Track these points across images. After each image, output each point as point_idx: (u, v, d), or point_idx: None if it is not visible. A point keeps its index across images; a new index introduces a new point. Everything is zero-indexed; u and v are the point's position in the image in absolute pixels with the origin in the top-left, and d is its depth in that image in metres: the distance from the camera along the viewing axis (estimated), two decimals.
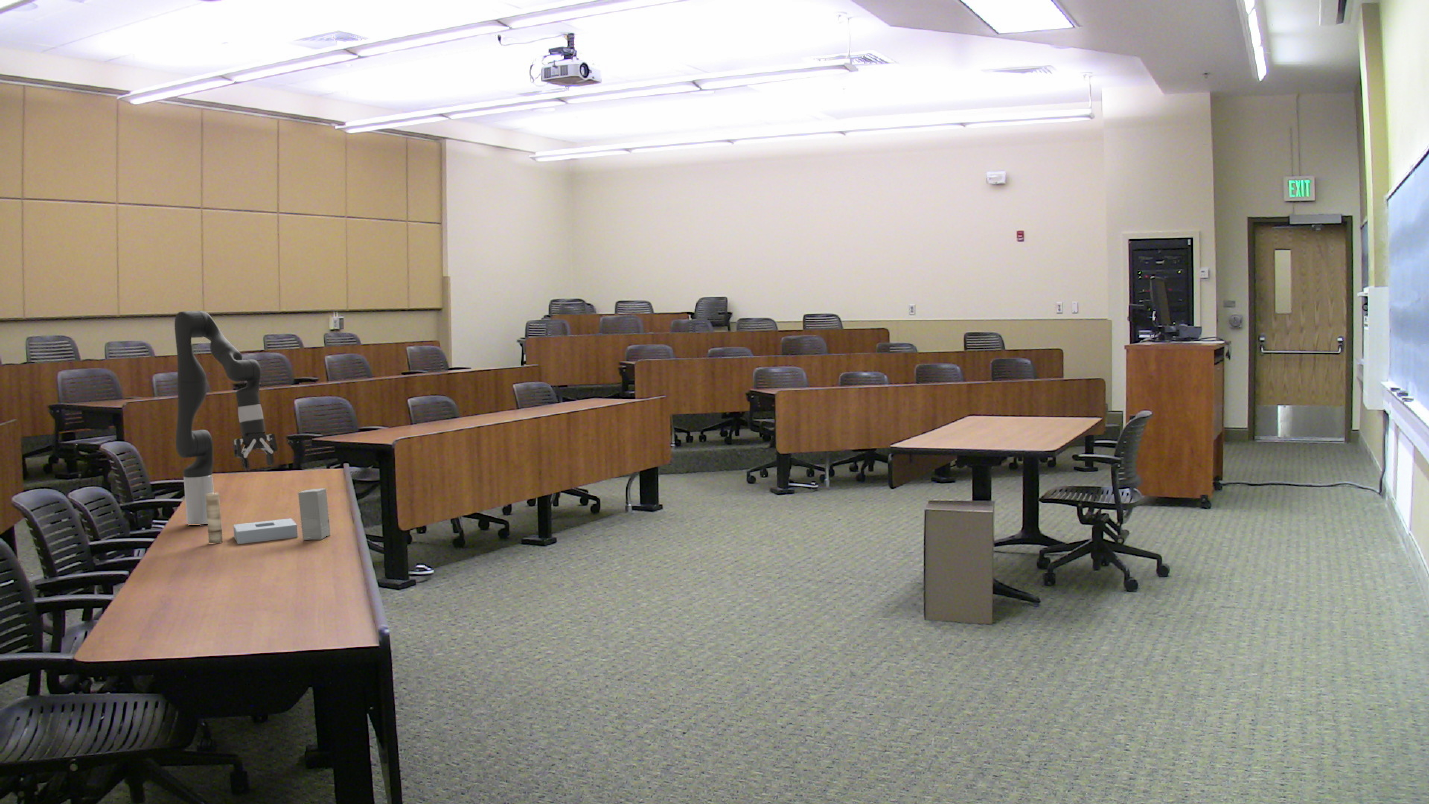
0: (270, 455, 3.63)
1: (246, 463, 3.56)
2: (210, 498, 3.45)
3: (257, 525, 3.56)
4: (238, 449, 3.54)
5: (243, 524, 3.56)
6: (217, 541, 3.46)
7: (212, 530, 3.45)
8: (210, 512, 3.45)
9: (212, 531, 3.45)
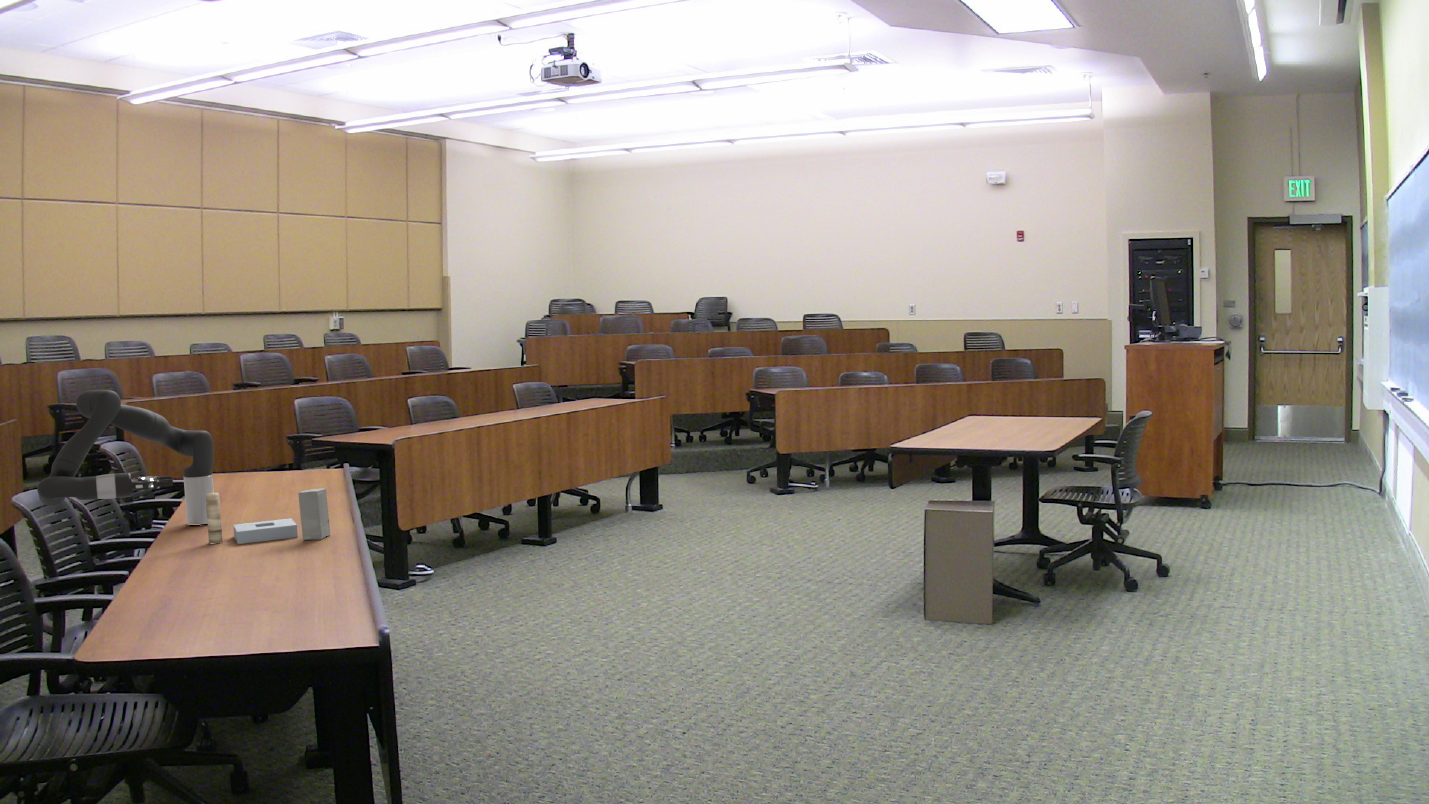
0: None
1: None
2: (210, 498, 3.45)
3: (257, 525, 3.56)
4: None
5: (243, 524, 3.56)
6: (217, 541, 3.46)
7: (212, 530, 3.45)
8: (210, 512, 3.45)
9: (212, 531, 3.45)
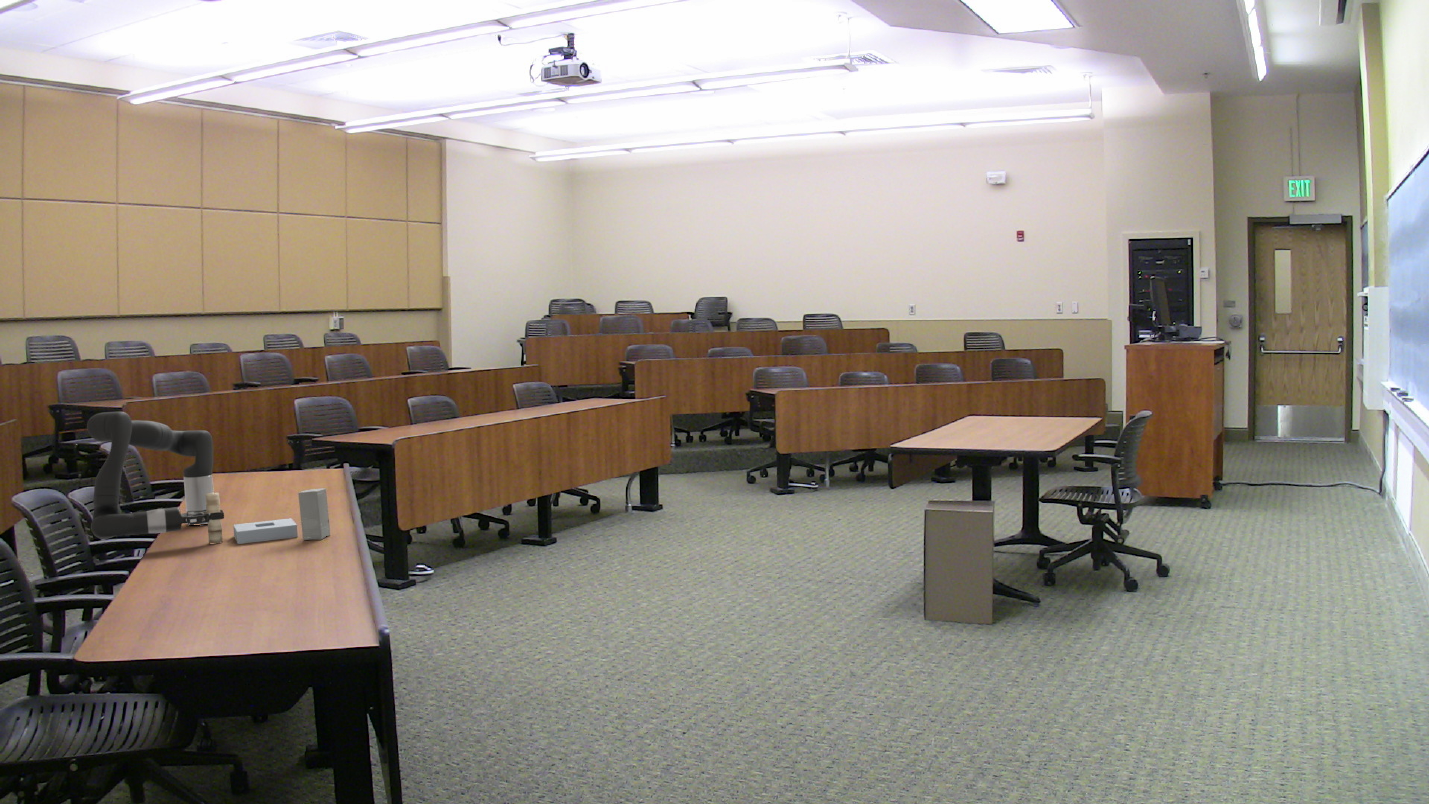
0: None
1: None
2: (210, 498, 3.45)
3: (257, 525, 3.56)
4: None
5: (243, 524, 3.56)
6: (217, 541, 3.46)
7: (212, 530, 3.45)
8: (210, 512, 3.45)
9: (212, 531, 3.45)
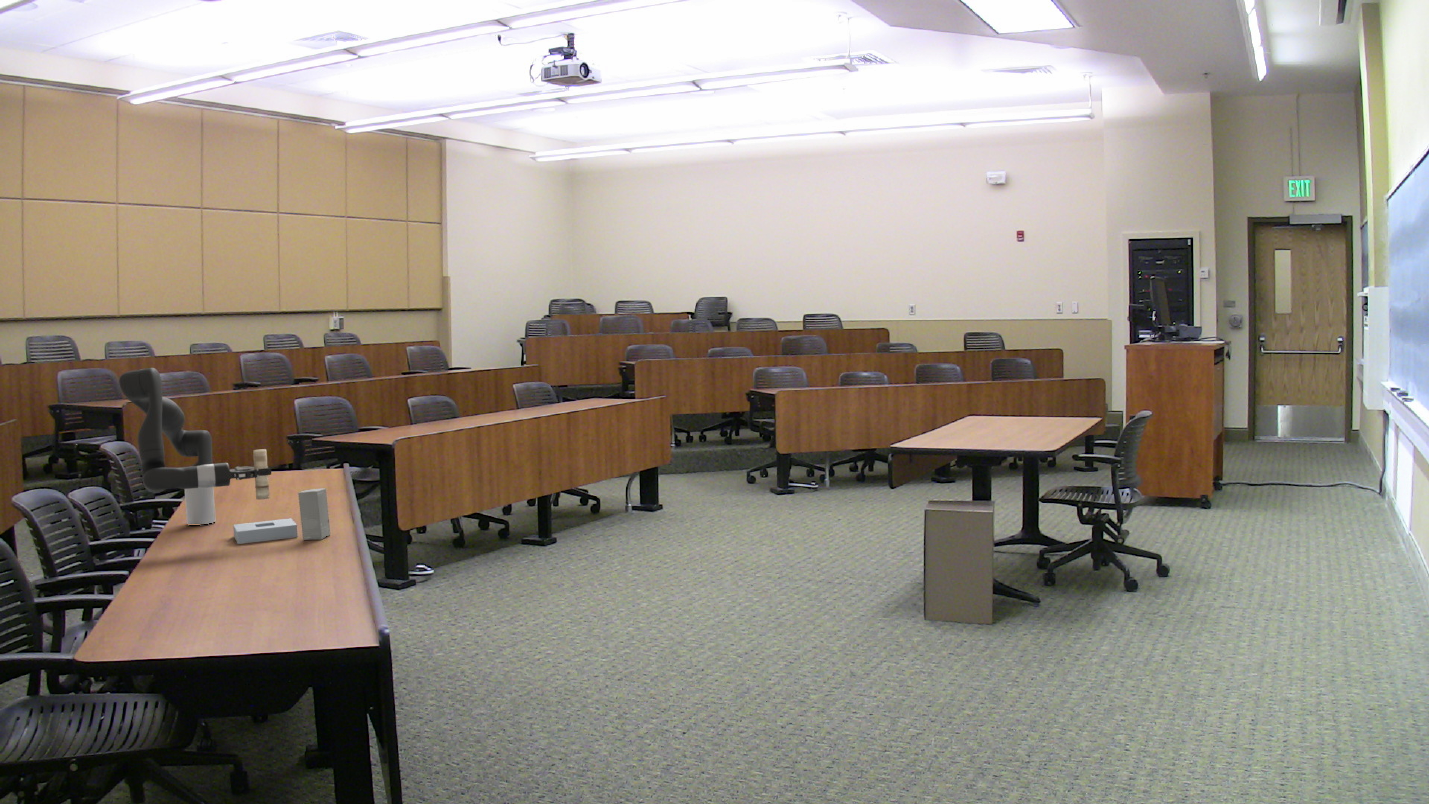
0: None
1: None
2: (258, 454, 3.50)
3: (257, 525, 3.56)
4: None
5: (243, 524, 3.56)
6: (264, 497, 3.52)
7: (259, 486, 3.51)
8: (257, 468, 3.51)
9: (259, 487, 3.51)
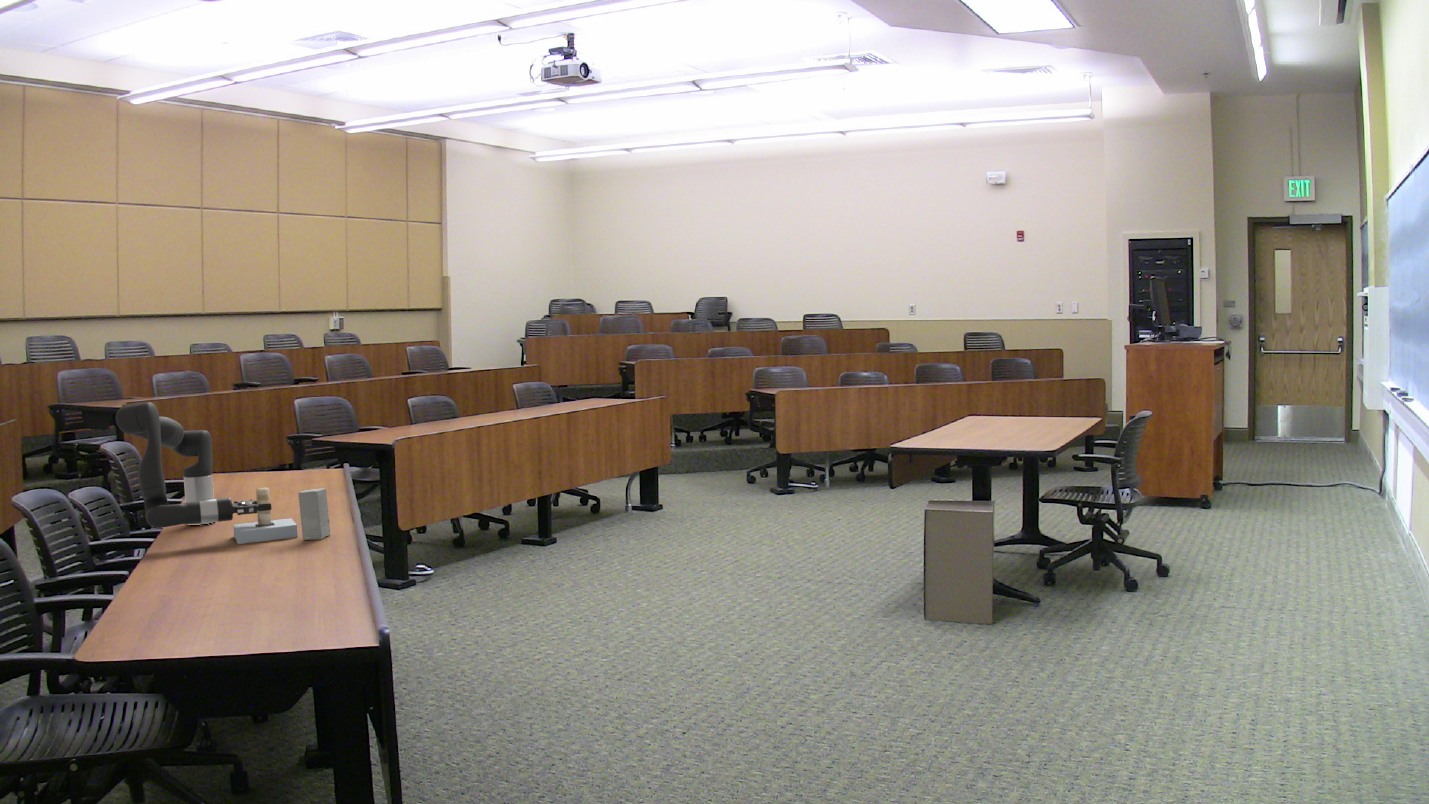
0: None
1: None
2: (261, 493, 3.52)
3: (257, 525, 3.56)
4: None
5: (243, 524, 3.56)
6: None
7: (262, 524, 3.52)
8: None
9: (262, 525, 3.53)
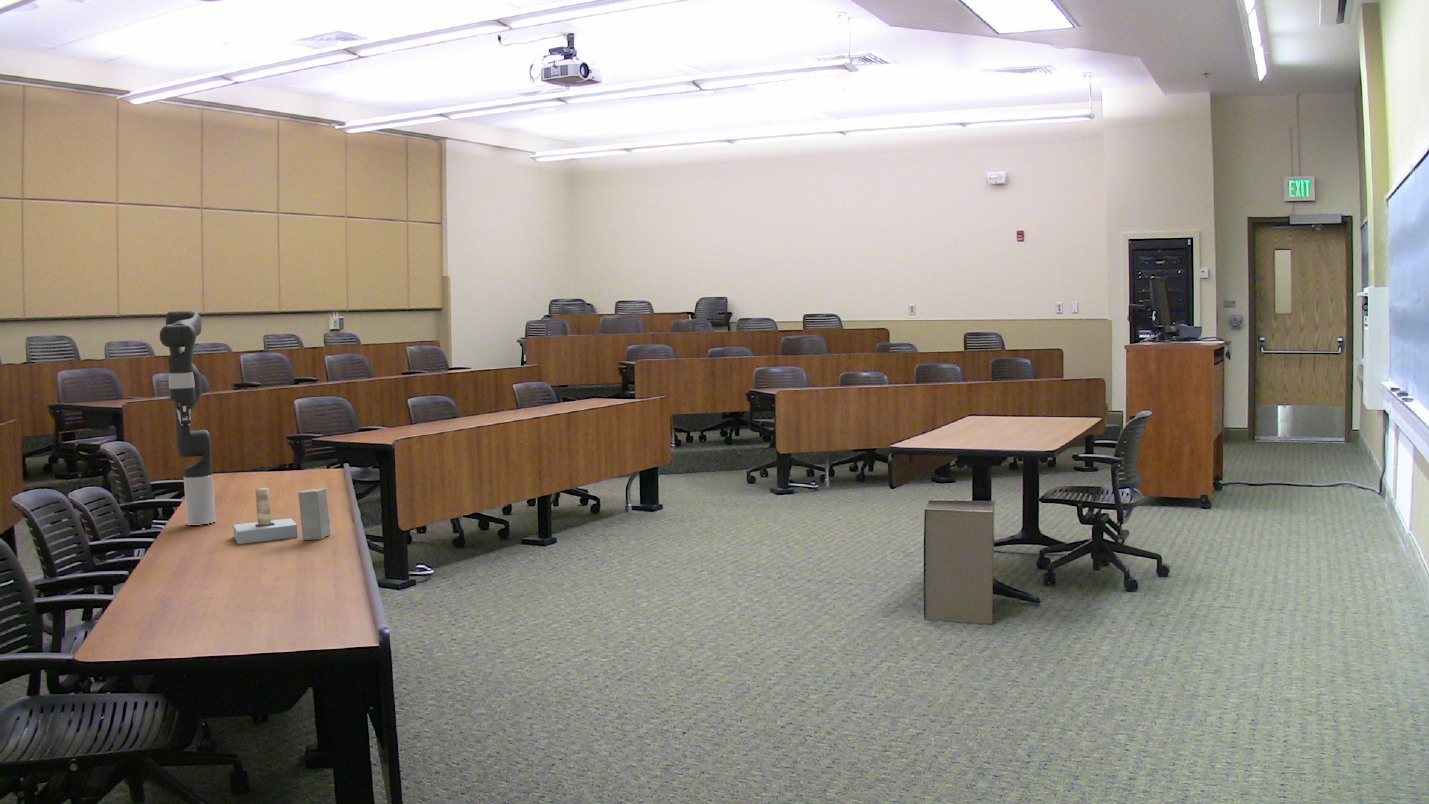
0: None
1: None
2: (260, 493, 3.52)
3: (257, 525, 3.56)
4: None
5: (243, 524, 3.56)
6: None
7: (262, 524, 3.52)
8: (260, 507, 3.52)
9: (262, 525, 3.52)
